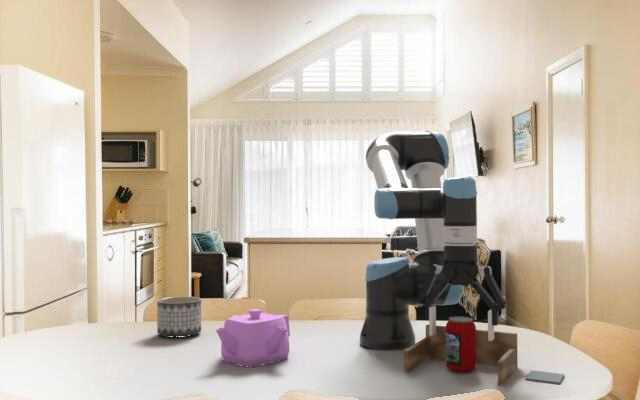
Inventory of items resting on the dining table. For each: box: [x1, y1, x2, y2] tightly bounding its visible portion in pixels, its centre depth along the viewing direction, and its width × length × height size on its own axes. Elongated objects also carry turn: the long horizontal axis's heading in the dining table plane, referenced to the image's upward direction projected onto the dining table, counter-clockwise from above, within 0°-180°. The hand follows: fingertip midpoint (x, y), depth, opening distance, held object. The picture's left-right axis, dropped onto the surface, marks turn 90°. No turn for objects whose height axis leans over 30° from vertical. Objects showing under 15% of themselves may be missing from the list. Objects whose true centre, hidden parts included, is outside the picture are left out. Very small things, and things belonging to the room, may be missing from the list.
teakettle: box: [215, 308, 291, 368], centre depth 153 cm, size 17×17×12 cm
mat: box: [525, 370, 565, 385], centre depth 135 cm, size 7×7×1 cm
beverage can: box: [445, 315, 477, 374], centre depth 142 cm, size 7×7×12 cm
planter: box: [156, 296, 202, 337], centre depth 181 cm, size 13×13×10 cm
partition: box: [403, 324, 518, 386], centre depth 142 cm, size 22×16×8 cm
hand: (461, 337), depth 141 cm, fingers open, 13 cm apart
